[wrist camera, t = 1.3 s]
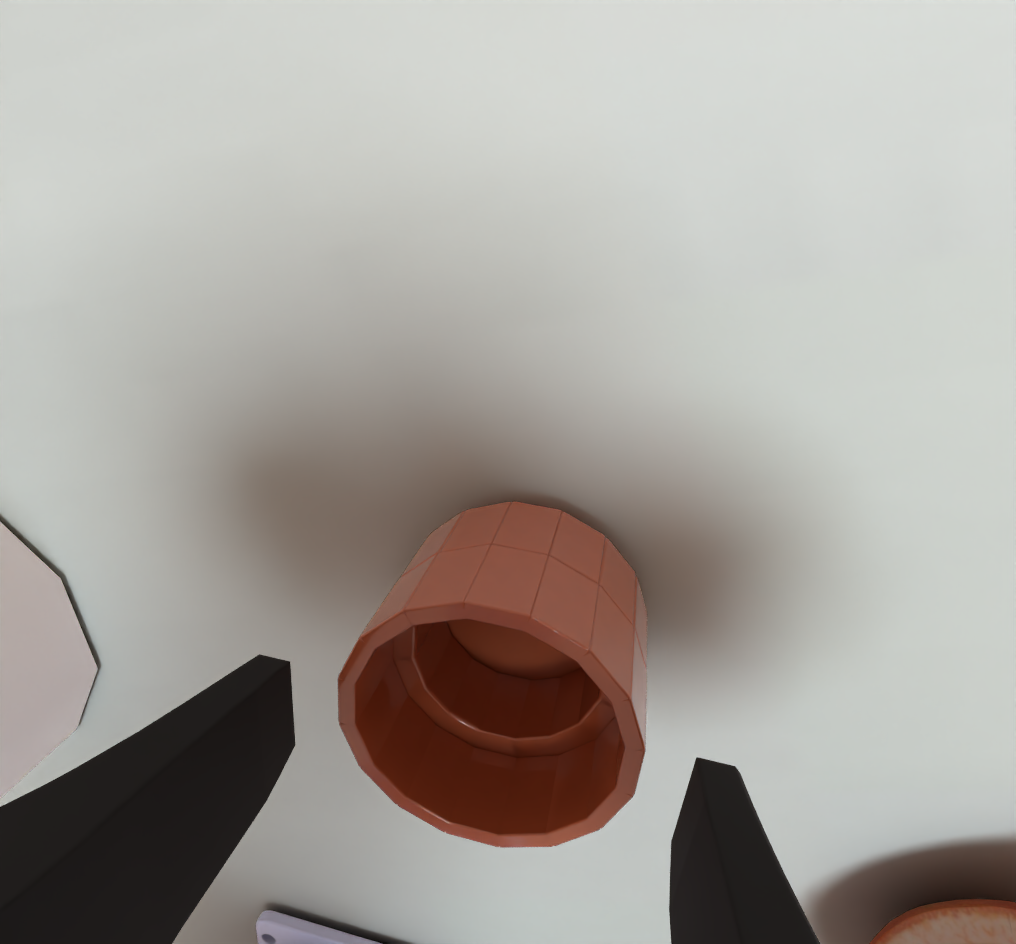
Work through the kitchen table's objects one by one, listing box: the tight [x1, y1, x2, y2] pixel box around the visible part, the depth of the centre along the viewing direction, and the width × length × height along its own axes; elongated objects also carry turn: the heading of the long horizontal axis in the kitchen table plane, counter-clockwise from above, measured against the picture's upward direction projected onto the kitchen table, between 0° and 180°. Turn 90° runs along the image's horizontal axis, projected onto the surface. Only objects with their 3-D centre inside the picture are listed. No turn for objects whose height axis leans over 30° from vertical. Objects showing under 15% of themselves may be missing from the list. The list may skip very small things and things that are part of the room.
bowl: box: [338, 501, 647, 847], centre depth 13 cm, size 6×6×4 cm
